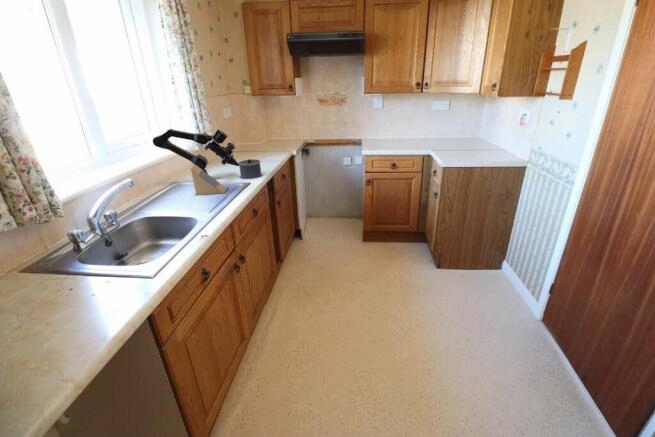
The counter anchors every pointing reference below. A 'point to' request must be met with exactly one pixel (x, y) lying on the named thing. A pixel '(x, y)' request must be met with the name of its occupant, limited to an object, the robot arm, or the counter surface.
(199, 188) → the sandwich container
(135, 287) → the counter surface
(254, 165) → the stockpot
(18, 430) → the counter surface
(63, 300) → the counter surface
